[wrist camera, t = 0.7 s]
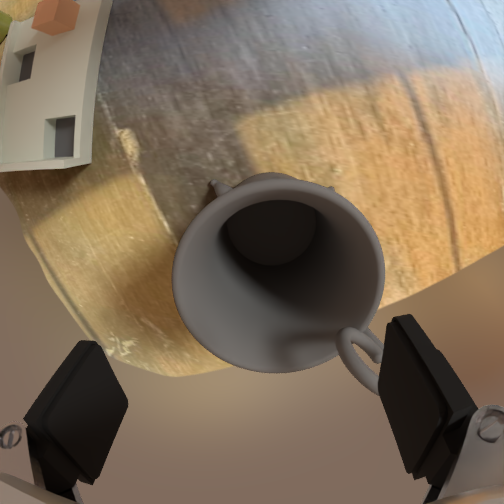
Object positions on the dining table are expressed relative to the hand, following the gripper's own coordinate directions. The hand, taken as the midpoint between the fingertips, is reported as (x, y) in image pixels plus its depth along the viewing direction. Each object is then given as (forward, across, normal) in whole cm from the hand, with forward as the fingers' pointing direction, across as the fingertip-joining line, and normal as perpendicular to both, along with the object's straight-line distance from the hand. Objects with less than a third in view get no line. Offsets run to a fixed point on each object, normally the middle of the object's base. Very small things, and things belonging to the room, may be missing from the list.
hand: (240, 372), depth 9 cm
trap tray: (+29, +26, -22) cm, 45 cm away
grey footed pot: (+29, -2, +3) cm, 29 cm away
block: (+26, +22, -30) cm, 45 cm away
